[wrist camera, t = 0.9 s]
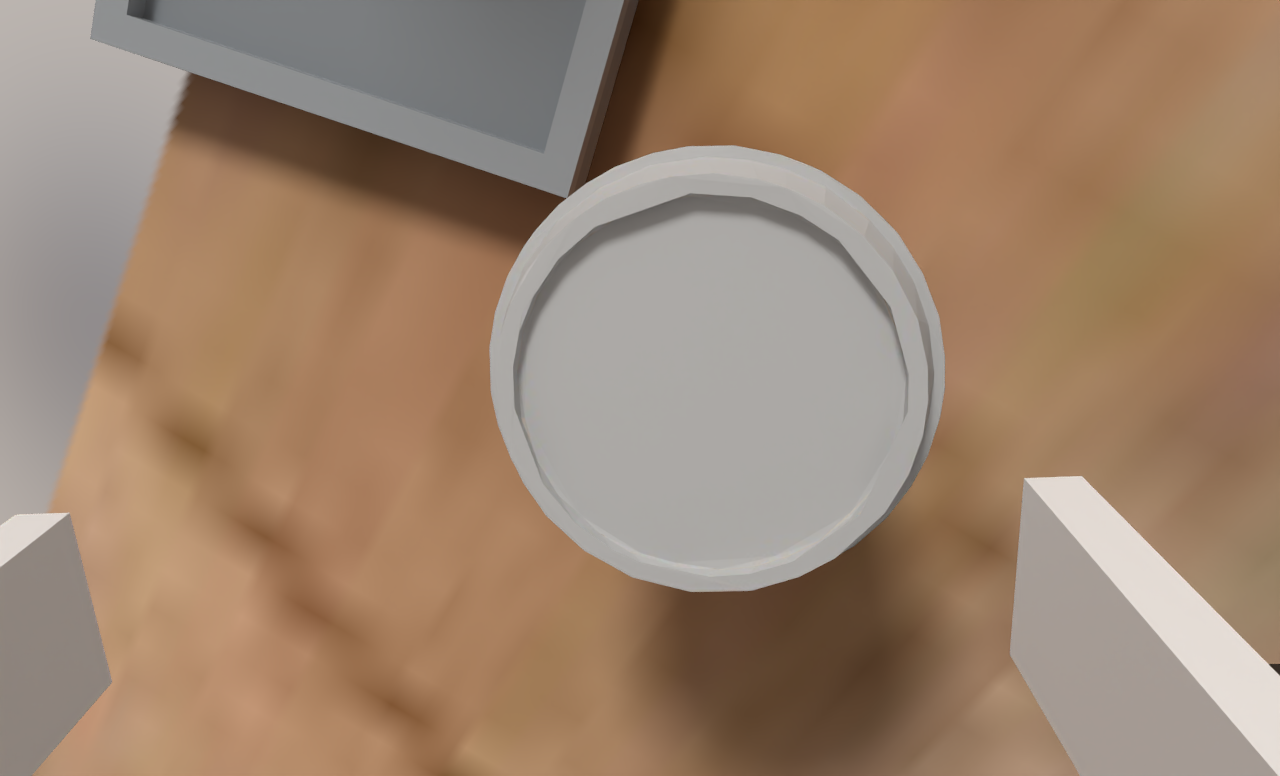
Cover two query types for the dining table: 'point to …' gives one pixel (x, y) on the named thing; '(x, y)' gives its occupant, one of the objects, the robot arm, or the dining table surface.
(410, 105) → the grey square tray
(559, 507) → the disposable coffee cup
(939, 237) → the dining table surface
